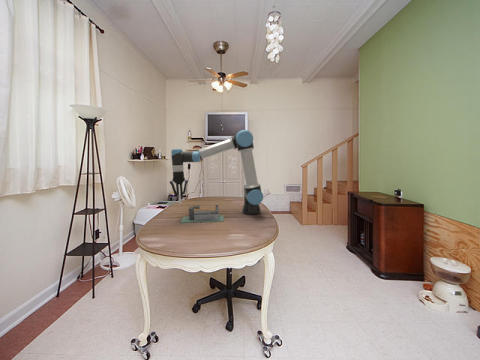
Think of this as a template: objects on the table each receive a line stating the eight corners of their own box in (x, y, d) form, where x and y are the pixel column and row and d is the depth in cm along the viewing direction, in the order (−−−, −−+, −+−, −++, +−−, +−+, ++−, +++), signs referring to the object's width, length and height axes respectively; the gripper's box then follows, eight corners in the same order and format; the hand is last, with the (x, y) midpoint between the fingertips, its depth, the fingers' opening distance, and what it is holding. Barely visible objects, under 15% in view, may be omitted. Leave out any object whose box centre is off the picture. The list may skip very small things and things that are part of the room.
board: (223, 215, 161) (223, 215, 161) (223, 221, 148) (223, 220, 148) (183, 217, 158) (183, 216, 158) (180, 223, 145) (180, 222, 145)
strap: (217, 209, 155) (217, 208, 155) (217, 211, 151) (217, 209, 151) (195, 208, 154) (195, 207, 153) (194, 210, 150) (194, 208, 149)
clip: (200, 217, 156) (200, 205, 155) (199, 219, 150) (199, 207, 149) (190, 217, 155) (190, 205, 154) (189, 220, 149) (188, 207, 148)
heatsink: (218, 215, 159) (218, 204, 158) (218, 220, 148) (218, 208, 147) (196, 216, 158) (195, 204, 157) (194, 221, 147) (193, 208, 146)
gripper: (188, 170, 151) (190, 202, 154) (170, 171, 150) (172, 202, 153) (186, 171, 144) (188, 204, 147) (167, 171, 143) (170, 205, 146)
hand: (180, 203), depth 150 cm, fingers closed
